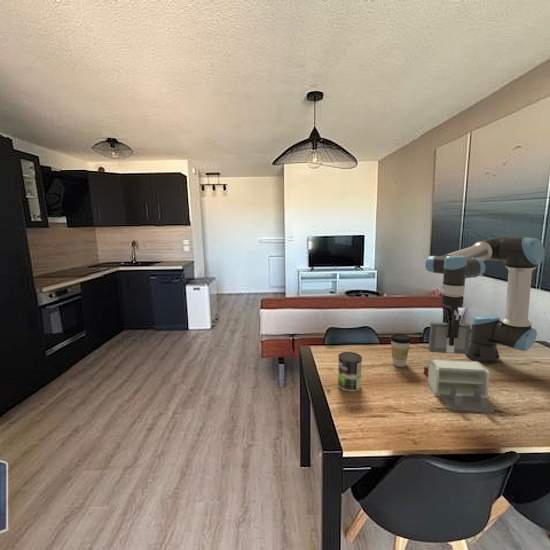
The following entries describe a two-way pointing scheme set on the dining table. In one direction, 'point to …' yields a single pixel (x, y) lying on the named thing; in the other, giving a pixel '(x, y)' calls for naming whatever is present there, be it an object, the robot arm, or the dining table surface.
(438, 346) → the grey rectangular panel
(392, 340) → the coffee cup
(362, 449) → the dining table surface
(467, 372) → the cabinet
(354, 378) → the coffee can
